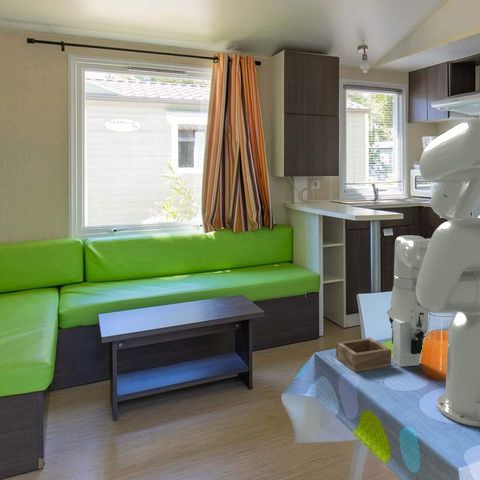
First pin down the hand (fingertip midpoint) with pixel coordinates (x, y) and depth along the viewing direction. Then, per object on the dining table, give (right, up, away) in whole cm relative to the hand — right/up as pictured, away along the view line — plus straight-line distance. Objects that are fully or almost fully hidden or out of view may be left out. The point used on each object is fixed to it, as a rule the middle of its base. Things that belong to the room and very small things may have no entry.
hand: (406, 347), depth 116 cm
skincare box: (0, -4, +1) cm, 5 cm away
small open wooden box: (-11, -4, +2) cm, 12 cm away
